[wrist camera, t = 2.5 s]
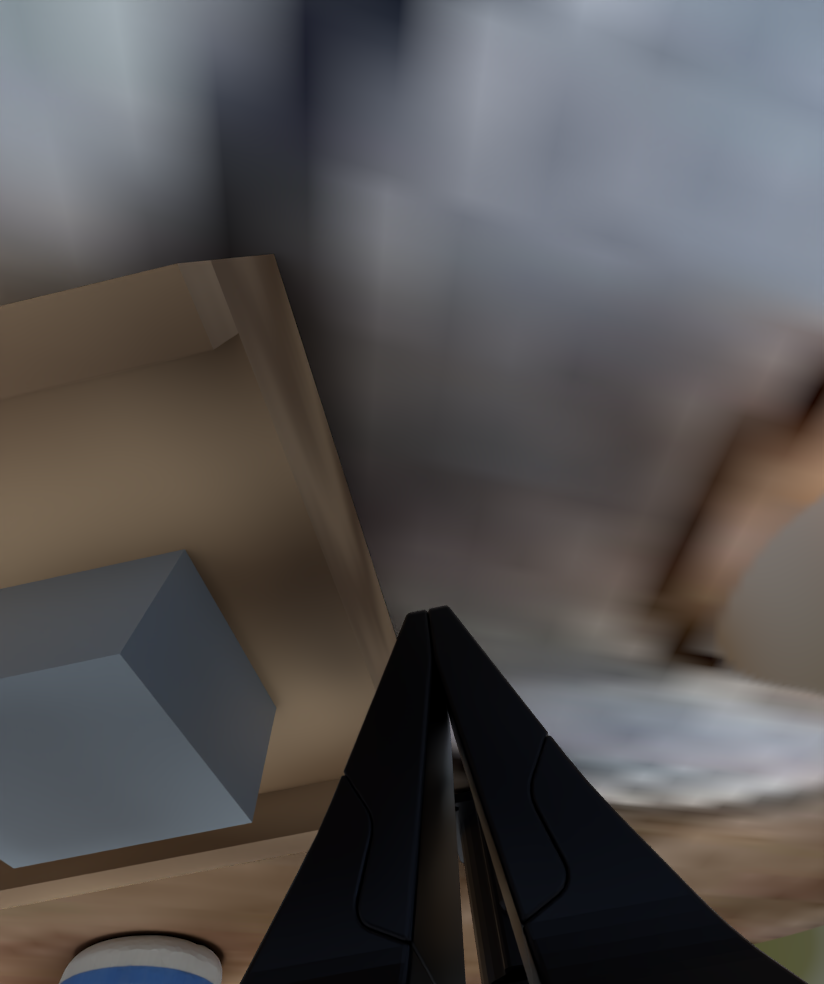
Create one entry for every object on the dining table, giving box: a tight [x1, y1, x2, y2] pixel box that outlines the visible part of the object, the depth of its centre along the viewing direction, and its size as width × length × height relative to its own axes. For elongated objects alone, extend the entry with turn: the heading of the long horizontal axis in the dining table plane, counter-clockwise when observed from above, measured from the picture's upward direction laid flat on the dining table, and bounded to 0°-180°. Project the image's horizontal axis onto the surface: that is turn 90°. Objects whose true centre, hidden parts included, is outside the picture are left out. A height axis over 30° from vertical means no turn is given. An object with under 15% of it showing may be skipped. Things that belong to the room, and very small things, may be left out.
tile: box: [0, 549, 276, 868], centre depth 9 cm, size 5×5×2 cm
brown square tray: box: [0, 254, 397, 910], centre depth 11 cm, size 14×14×6 cm
